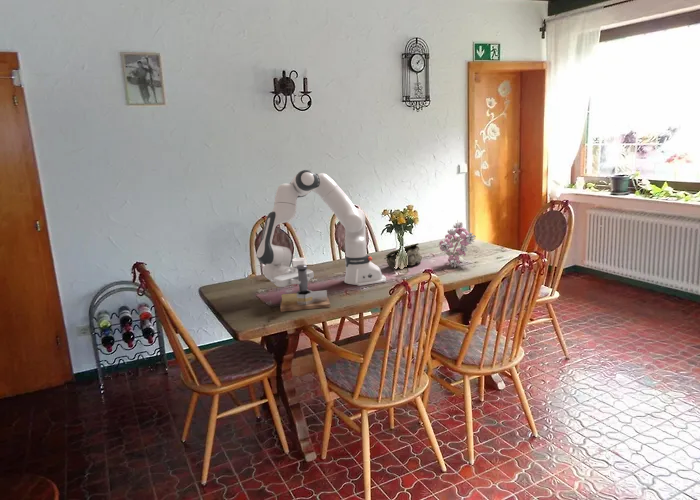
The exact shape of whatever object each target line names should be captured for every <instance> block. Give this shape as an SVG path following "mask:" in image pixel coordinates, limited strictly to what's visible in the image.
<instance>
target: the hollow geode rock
mask: <svg viewBox="0 0 700 500" xmlns="http://www.w3.org/2000/svg"><path fill="white" fill-rule="evenodd" d="M403 247H404V248H405V251H406V253H407V256H408V265H407V266H415V265H416V264H420V263H421V262H422V259H423V256H422V255H421V254H420V252H419V251H420V247H419V243H418V242H417V243H415V244H413V243H412V244H410V245H406V246H403ZM399 249H400V248H399ZM399 249H396V250H393V251H390V252H388V254H386V255H385V257H384V259H383V260H386V264H387V266H389V267H390V268H392V269H393V270H396V269H395V268H394V267H395V259H396V255H397V253H398V251H399Z"/></svg>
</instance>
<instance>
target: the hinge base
mask: <svg viewBox="0 0 700 500" xmlns="http://www.w3.org/2000/svg"><path fill="white" fill-rule="evenodd" d="M322 308H331V302H330V298H329V297H328V296H327V301H319V302H313V303H312V304H308V305H298V304H287V305H282V300H280V312H283V313H284V312H292V311H303V310H312V309H322Z"/></svg>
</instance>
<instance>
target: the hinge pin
mask: <svg viewBox="0 0 700 500" xmlns="http://www.w3.org/2000/svg"><path fill="white" fill-rule="evenodd" d="M297 269H298V278H299V280H300V281H301V284H298V287H299V288H298V291H299V292H300V294H304V295H305V294H308V290H309V288H308V285H309V284H308V282H307V270H306V269H308V264H306V265H304V264H302V265H297Z"/></svg>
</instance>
